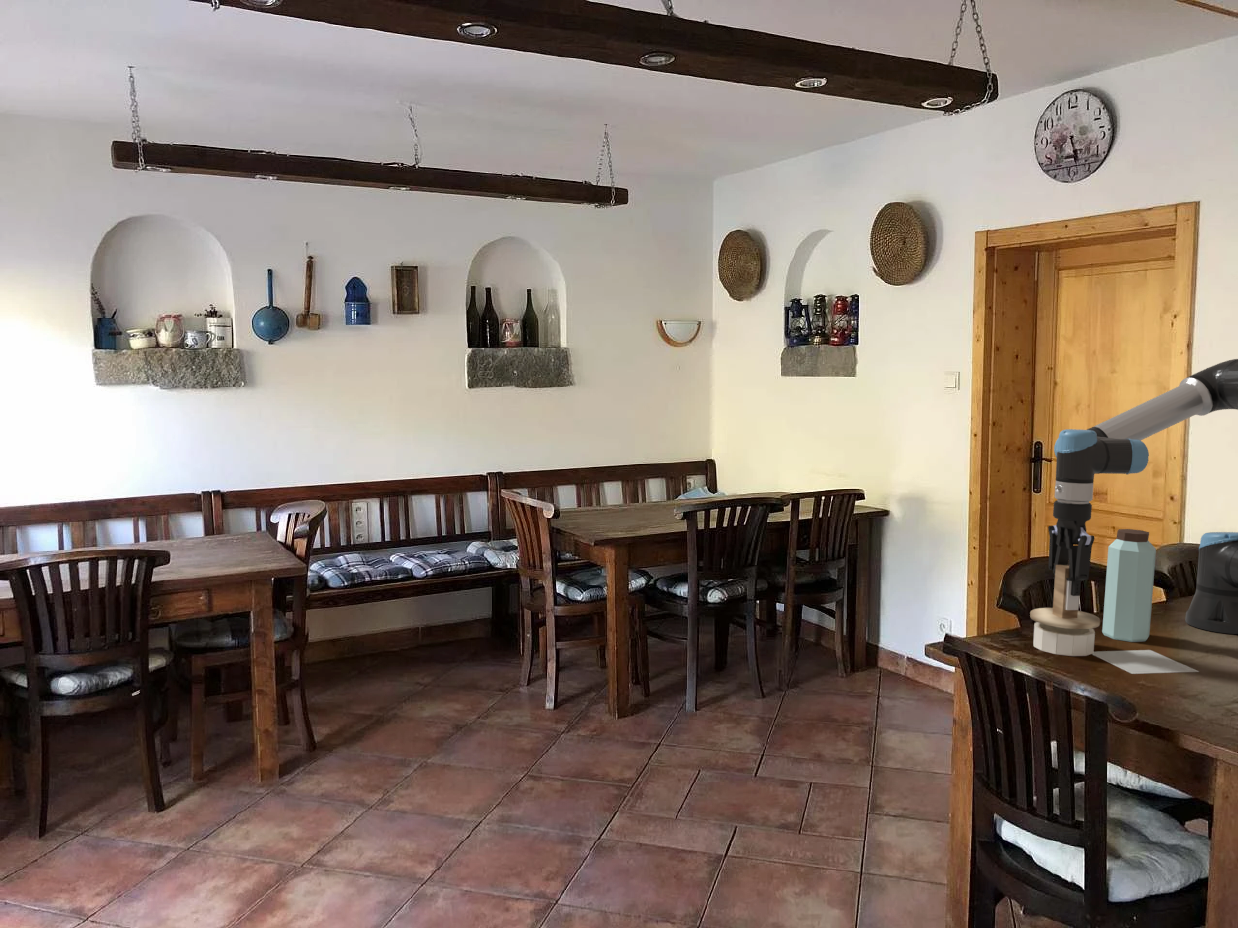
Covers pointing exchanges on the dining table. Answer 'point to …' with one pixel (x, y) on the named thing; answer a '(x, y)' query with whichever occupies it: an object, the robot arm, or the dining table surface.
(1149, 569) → the water bottle
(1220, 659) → the dining table surface
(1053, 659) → the dining table surface
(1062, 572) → the wooden post on disc
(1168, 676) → the dining table surface
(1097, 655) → the mat
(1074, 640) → the bowl
